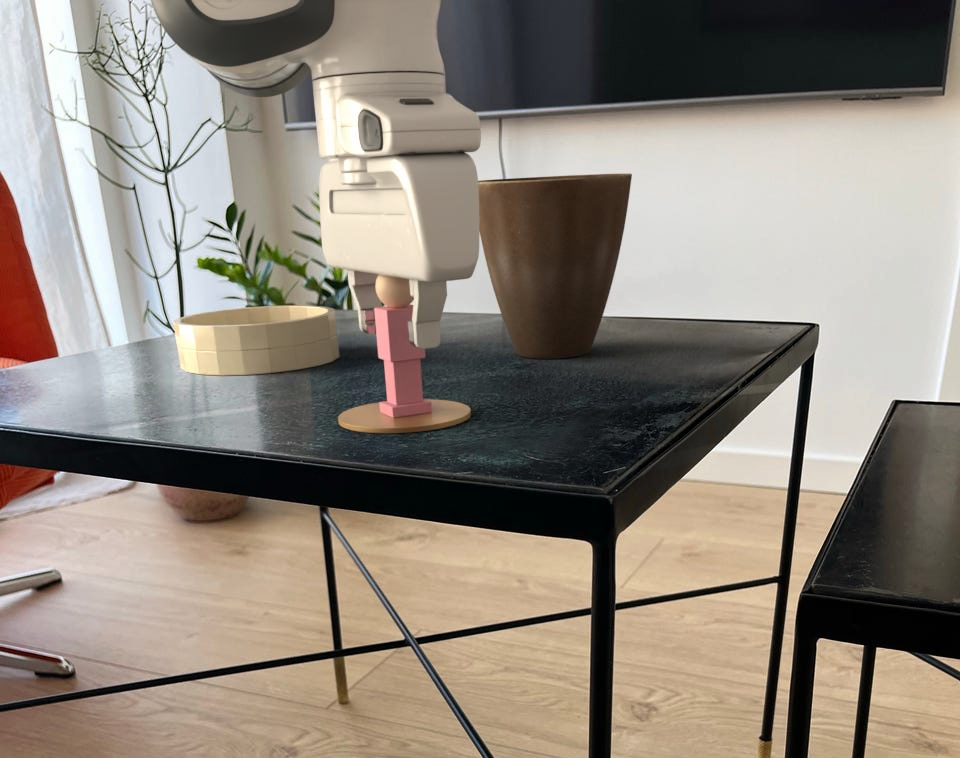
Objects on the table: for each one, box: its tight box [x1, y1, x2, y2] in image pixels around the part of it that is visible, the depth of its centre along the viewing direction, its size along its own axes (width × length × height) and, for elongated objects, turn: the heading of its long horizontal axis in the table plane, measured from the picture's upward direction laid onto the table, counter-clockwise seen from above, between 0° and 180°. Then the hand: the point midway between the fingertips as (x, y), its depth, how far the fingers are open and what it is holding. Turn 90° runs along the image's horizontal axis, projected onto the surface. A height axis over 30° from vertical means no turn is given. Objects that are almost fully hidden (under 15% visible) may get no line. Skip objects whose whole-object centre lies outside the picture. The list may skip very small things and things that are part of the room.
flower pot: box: [478, 173, 633, 360], centre depth 97 cm, size 15×15×16 cm
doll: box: [374, 275, 432, 418], centre depth 74 cm, size 3×3×10 cm
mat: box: [337, 398, 472, 434], centre depth 76 cm, size 10×10×1 cm
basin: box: [172, 304, 340, 376], centre depth 100 cm, size 15×15×5 cm
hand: (398, 339), depth 74 cm, fingers open, 8 cm apart
